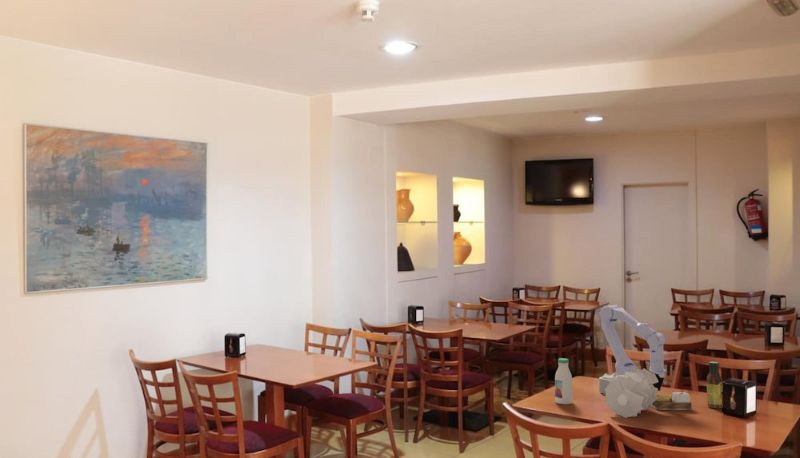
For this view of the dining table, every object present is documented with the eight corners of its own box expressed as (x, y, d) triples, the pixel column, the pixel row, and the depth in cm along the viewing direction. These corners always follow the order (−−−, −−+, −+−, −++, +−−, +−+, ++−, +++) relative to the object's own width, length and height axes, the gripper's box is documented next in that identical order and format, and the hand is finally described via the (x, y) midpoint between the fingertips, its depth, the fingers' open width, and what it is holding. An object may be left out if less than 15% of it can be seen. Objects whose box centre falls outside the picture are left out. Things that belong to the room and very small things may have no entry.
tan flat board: (655, 409, 283) (655, 403, 283) (651, 406, 289) (651, 399, 289) (692, 410, 282) (692, 403, 282) (686, 406, 288) (686, 399, 288)
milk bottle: (570, 400, 300) (570, 357, 300) (573, 405, 292) (573, 360, 292) (554, 400, 300) (553, 357, 301) (556, 404, 293) (555, 360, 293)
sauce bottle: (724, 409, 283) (724, 364, 283) (709, 408, 284) (708, 363, 284) (720, 405, 289) (719, 361, 289) (705, 405, 290) (704, 360, 290)
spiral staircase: (612, 426, 272) (632, 410, 292) (651, 415, 262) (668, 399, 282) (593, 385, 276) (613, 372, 296) (630, 372, 266) (649, 359, 286)
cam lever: (653, 400, 285) (653, 395, 285) (652, 399, 287) (652, 394, 287) (672, 401, 285) (672, 395, 285) (671, 400, 286) (671, 394, 286)
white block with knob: (675, 402, 283) (675, 393, 283) (671, 400, 288) (671, 391, 288) (689, 402, 283) (689, 393, 283) (685, 400, 287) (685, 391, 287)
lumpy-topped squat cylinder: (596, 392, 315) (596, 374, 315) (611, 388, 323) (611, 371, 323) (615, 396, 306) (614, 378, 306) (630, 392, 314) (630, 374, 315)
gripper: (671, 363, 283) (672, 394, 283) (660, 357, 298) (660, 386, 298) (655, 363, 284) (655, 394, 284) (644, 357, 298) (645, 386, 298)
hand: (657, 390), depth 291 cm, fingers closed
